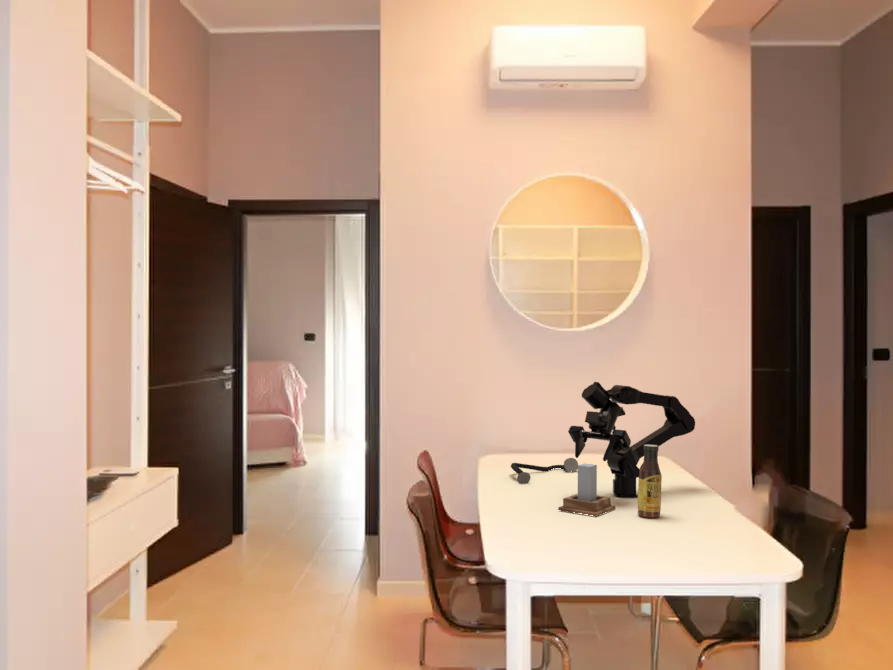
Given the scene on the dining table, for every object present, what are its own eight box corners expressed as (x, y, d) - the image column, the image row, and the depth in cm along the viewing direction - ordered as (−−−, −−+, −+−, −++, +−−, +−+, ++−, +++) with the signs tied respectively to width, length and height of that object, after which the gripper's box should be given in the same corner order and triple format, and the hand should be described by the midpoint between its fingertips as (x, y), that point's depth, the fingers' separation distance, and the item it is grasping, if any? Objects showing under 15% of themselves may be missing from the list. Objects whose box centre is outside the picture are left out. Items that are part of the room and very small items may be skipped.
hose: (524, 485, 261) (524, 469, 261) (491, 479, 270) (491, 463, 270) (580, 472, 286) (580, 457, 286) (548, 467, 295) (548, 453, 295)
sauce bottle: (648, 519, 213) (648, 447, 213) (632, 514, 219) (633, 444, 219) (666, 517, 216) (666, 446, 216) (650, 512, 222) (651, 443, 222)
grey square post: (584, 504, 228) (584, 463, 227) (596, 506, 225) (596, 465, 225) (577, 506, 224) (577, 465, 224) (590, 508, 222) (590, 466, 222)
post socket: (578, 503, 233) (578, 491, 233) (615, 509, 226) (615, 497, 226) (558, 510, 224) (558, 498, 224) (596, 517, 216) (596, 504, 216)
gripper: (571, 399, 242) (553, 438, 233) (626, 403, 230) (609, 444, 222) (583, 422, 248) (565, 461, 240) (638, 427, 237) (621, 468, 228)
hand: (589, 458), depth 232 cm, fingers open, 9 cm apart
